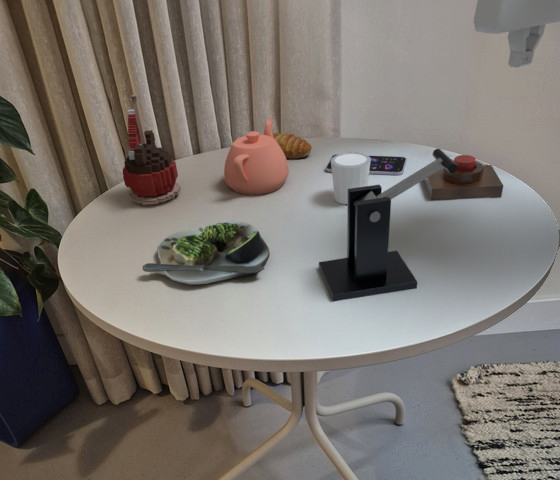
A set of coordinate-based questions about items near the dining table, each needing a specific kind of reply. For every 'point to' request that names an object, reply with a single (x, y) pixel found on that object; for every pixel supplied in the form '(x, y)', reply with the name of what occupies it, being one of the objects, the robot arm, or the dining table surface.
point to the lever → (416, 176)
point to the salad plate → (211, 253)
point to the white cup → (349, 173)
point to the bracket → (367, 252)
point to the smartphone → (382, 165)
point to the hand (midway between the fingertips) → (519, 65)
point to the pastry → (292, 145)
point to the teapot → (256, 163)
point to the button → (465, 162)
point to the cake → (147, 164)
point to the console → (464, 184)
